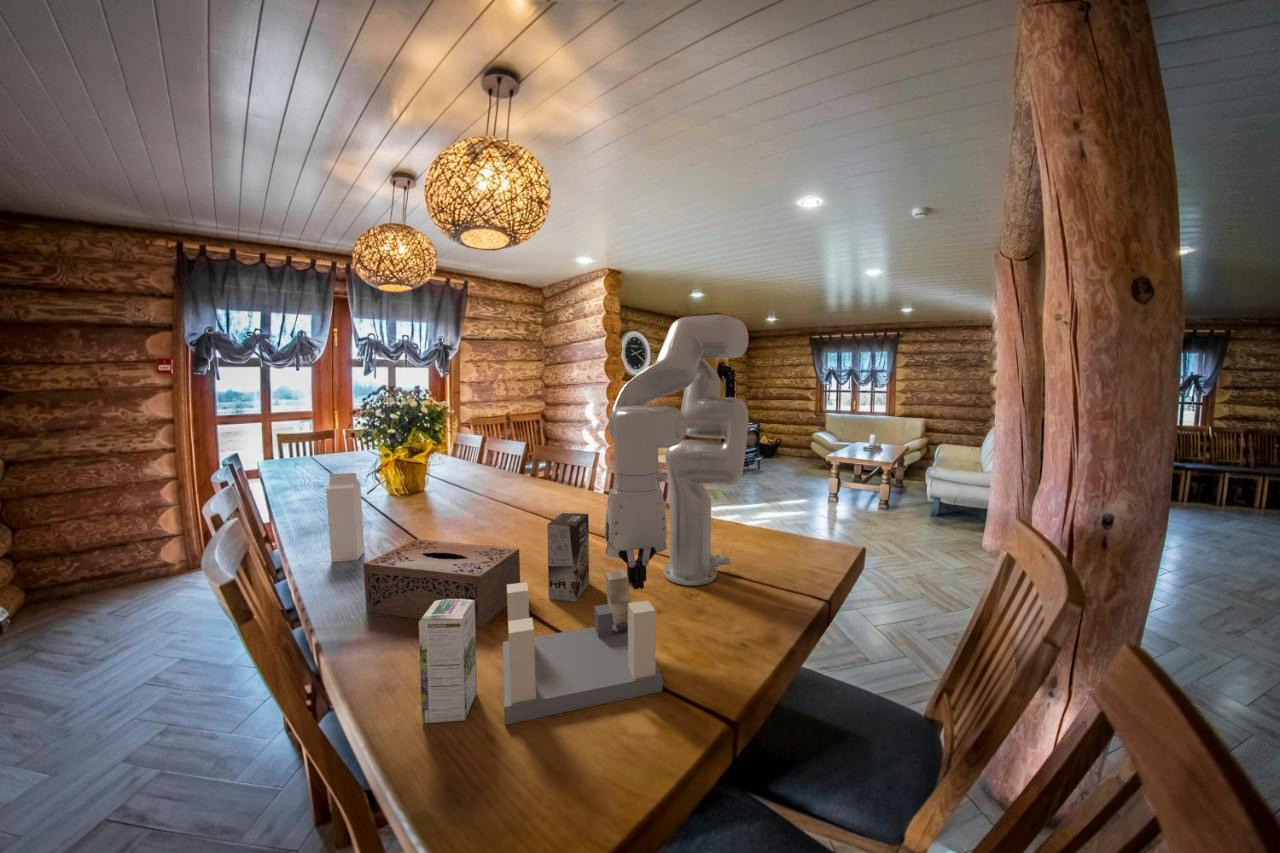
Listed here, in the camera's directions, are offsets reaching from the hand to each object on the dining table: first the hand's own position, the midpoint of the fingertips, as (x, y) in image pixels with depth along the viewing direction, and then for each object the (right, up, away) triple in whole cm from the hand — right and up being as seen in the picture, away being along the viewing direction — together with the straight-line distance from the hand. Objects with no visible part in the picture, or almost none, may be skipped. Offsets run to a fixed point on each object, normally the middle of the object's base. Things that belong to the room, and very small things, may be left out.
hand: (636, 585), depth 80 cm
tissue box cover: (-39, -9, +15) cm, 43 cm away
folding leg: (-3, -7, -1) cm, 8 cm away
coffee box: (-15, -8, +19) cm, 26 cm away
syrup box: (-26, -12, -16) cm, 32 cm away
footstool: (-9, -11, -9) cm, 16 cm away
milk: (-75, -6, +40) cm, 85 cm away
